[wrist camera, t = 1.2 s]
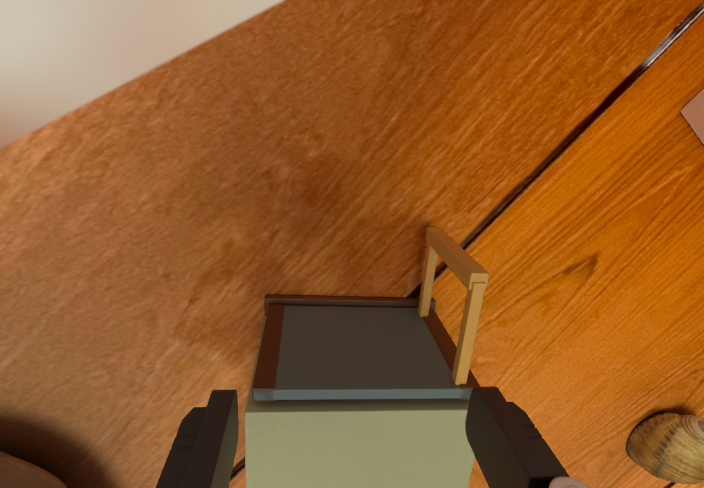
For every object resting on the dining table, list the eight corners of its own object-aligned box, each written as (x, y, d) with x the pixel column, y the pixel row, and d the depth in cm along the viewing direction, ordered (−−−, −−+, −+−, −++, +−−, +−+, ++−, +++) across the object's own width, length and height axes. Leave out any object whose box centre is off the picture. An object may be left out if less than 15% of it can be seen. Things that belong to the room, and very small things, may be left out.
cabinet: (265, 294, 37) (244, 387, 25) (433, 298, 39) (490, 386, 27) (265, 383, 40) (245, 506, 28) (420, 383, 42) (466, 497, 30)
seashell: (624, 432, 53) (695, 480, 48) (608, 464, 48) (685, 521, 44) (664, 381, 48) (747, 429, 44) (651, 411, 44) (742, 468, 39)
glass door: (269, 217, 34) (250, 270, 23) (445, 224, 35) (504, 277, 24) (268, 313, 36) (251, 402, 26) (430, 316, 38) (478, 399, 27)
